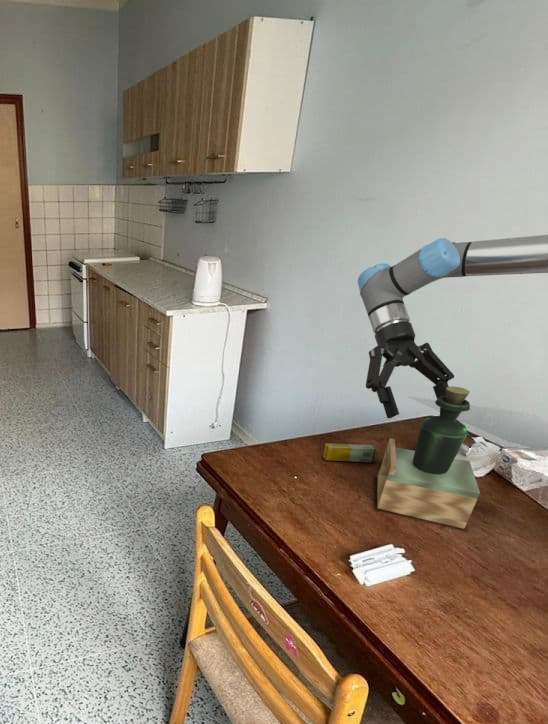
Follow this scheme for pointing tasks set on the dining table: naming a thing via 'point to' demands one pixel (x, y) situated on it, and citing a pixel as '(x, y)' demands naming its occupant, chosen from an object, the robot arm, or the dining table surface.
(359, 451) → the medication box
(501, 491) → the dining table surface
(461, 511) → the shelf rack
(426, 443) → the potion bottle
